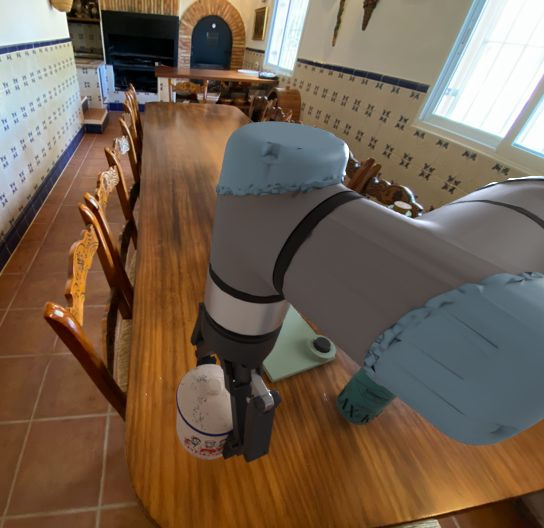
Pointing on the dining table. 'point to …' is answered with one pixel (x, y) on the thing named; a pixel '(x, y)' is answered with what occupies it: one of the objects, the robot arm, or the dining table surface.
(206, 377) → the teacup with lid
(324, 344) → the button
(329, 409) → the dining table surface
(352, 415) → the beverage bottle
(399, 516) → the dining table surface
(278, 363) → the scale
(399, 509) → the dining table surface
